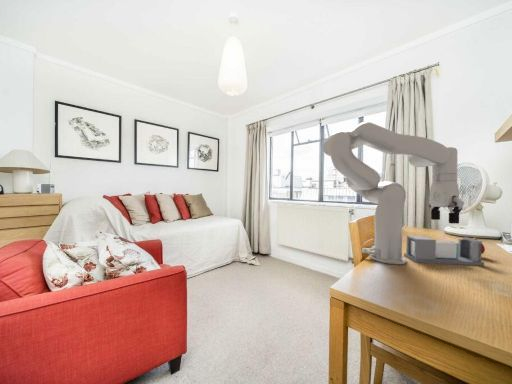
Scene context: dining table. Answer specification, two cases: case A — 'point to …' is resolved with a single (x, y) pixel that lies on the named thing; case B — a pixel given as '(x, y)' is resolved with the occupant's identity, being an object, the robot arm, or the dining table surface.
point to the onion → (481, 247)
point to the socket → (470, 249)
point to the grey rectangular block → (441, 249)
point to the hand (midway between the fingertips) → (444, 221)
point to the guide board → (432, 252)
